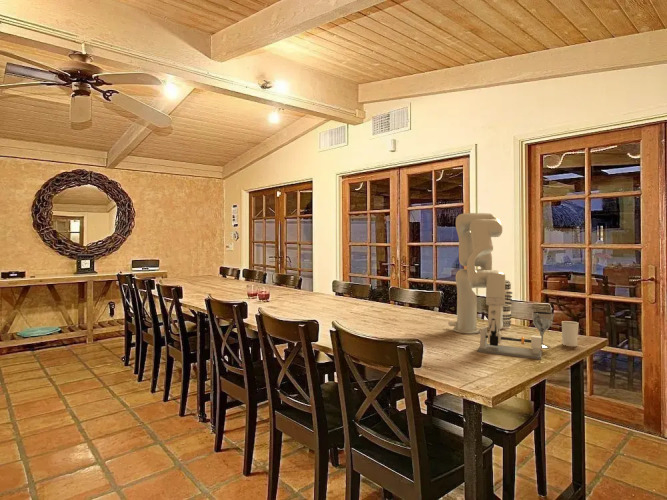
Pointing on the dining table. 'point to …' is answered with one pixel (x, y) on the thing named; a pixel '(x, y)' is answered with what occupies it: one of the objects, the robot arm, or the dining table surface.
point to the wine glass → (542, 323)
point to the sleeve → (498, 337)
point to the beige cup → (569, 333)
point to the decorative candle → (507, 306)
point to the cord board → (509, 350)
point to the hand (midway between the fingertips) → (494, 343)
